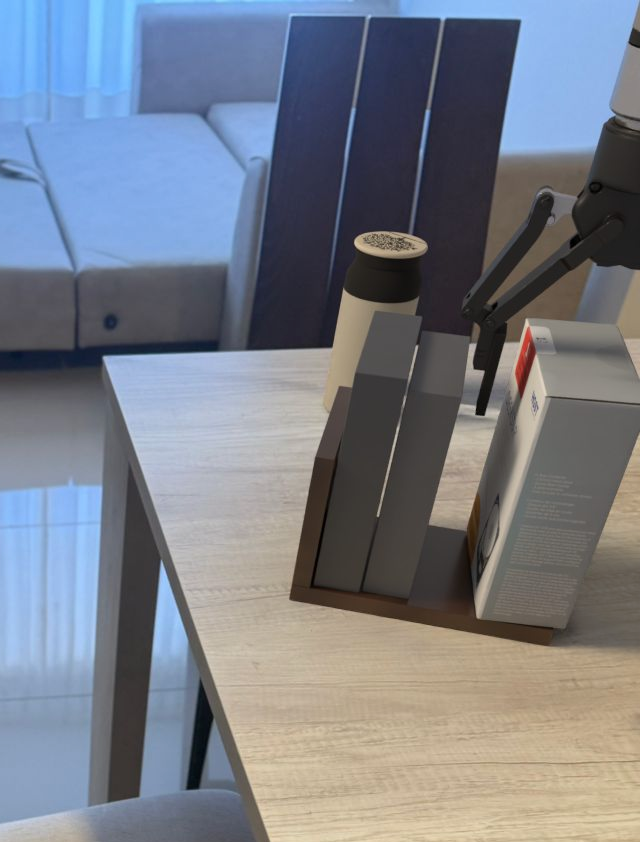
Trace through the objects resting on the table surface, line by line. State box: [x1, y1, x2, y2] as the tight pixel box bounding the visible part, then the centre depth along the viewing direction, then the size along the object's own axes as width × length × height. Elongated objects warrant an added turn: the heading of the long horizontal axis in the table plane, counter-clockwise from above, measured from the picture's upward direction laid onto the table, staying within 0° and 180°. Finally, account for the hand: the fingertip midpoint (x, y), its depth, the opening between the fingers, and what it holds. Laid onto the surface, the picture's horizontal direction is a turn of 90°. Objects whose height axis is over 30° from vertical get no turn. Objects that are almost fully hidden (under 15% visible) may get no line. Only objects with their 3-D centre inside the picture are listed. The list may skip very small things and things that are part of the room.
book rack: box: [288, 386, 555, 647], centre depth 101 cm, size 22×15×14 cm
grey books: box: [313, 311, 471, 599], centre depth 99 cm, size 8×14×19 cm, turn 162°
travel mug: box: [322, 231, 429, 413], centre depth 126 cm, size 8×8×18 cm
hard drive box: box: [466, 317, 640, 630], centre depth 96 cm, size 16×8×20 cm, turn 168°
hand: (568, 420), depth 93 cm, fingers open, 13 cm apart
